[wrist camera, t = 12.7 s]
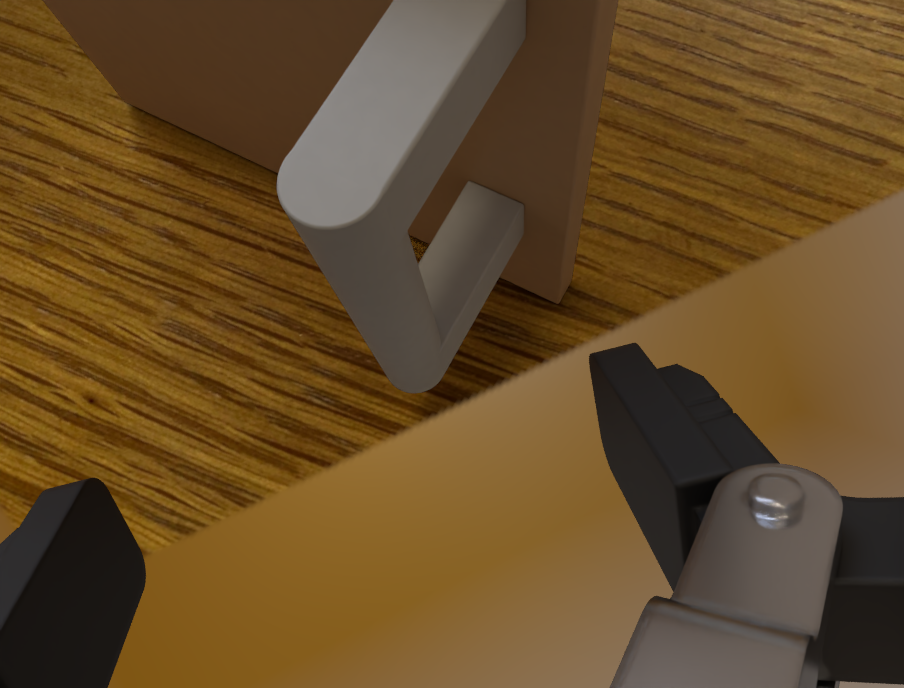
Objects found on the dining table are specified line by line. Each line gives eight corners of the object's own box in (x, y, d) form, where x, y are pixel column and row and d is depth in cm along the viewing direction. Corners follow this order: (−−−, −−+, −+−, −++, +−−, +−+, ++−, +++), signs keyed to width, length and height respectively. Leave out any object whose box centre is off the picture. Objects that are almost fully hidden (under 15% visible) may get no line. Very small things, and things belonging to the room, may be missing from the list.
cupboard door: (478, 454, 22) (397, 191, 8) (34, 218, 26) (-577, -251, 12) (572, 279, 24) (656, -221, 9) (139, 81, 27) (-285, -488, 13)
